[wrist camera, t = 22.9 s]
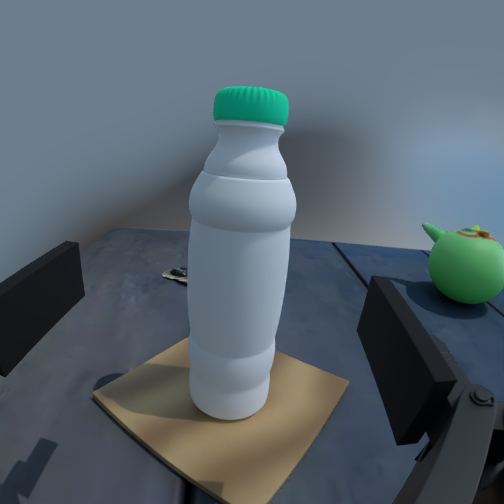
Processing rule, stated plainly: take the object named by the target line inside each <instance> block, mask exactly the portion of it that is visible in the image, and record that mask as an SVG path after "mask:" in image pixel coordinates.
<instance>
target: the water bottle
mask: <svg viewBox="0 0 504 504" xmlns="http://www.w3.org/2000/svg"><path fill="white" fill-rule="evenodd" d="M288 112H289V104H288V99H287V97H286V96H285V95H284V94H283V93H280V92H278V91H275V90H271V89H267V88H259V87H250V86H247V87H246V86H234V87H227V88H223V89H221V90H220V91H219V92H218V93H217V94H216V97H215V102H214V112H213V113H214V114H213V115H214V120H215V121H216V124H214V126H215V127H216V128H217V130H218V133H219V138H218V142H217V145H216V146H215V148H214V149H213V151H212V152H211V153H210V155H209V156H208V158H207V159H206V162H205V165H204V171H202V172H201V173H200V175H199V176H198V178H197V180H196V182H195V183H194V185H193V188H192V190H191V193H190V198H189V208H190V213H191V215H192V222H191V229H190V238H189V250H188V279H187V284H188V314H189V324H190V335H189V341H188V354H189V361H190V373H189V389H190V395H191V398H192V400H193V402H194V403H195V405H196V406H197V407H198V408H199V409H200V410H201V411H203V412H204V413H206V414H208V415H210V416H212V417H215V418H219V419H224V420H237V419H242V418H246V417H249V416H251V415H253V414H255V413H256V412H257V411H259V410H260V409H261V408H262V406H263V405H264V403H265V401H266V399H267V395H268V390H269V381H270V370H271V367H272V364H273V359H274V353H275V334H276V330H277V327H278V323H279V318H280V314H281V308H282V303H283V297H284V291H285V284H286V277H287V269H288V260H289V248H290V224H291V223H292V221H293V219H294V217H295V212H296V198H295V195H294V191H293V188H292V185H291V183H290V180H289V179H288V178H287V168H286V165H285V162H284V160H283V158H282V156H281V154H280V152H279V149H278V139H279V137H280V135H281V134H282V133H283V132H284V129H283V126H285V125H286V123H287V119H288Z"/></svg>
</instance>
